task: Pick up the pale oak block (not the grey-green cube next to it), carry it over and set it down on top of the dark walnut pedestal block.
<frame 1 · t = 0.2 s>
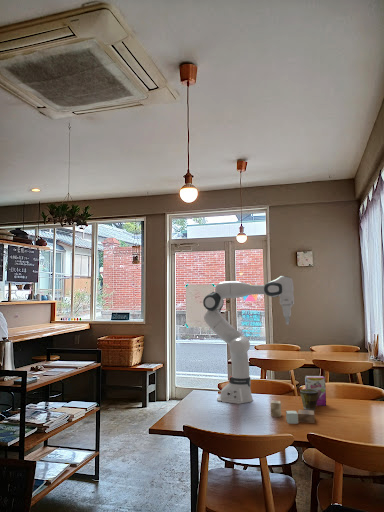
hand: (287, 324, 238), 47 cm above the table, fingers open, 8 cm apart
grey green block: (292, 422, 197), on the table
walnut pedestal: (306, 420, 199), on the table
candy bar box: (316, 405, 228), on the table
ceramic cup: (309, 409, 219), on the table
oak block: (276, 415, 209), on the table
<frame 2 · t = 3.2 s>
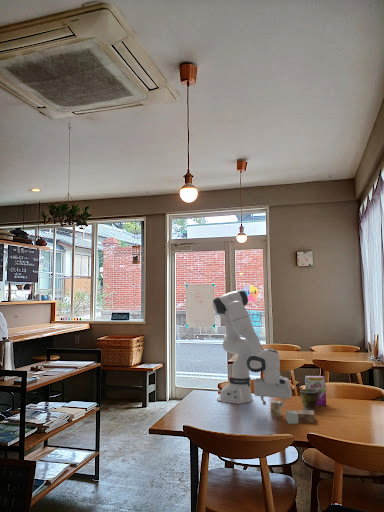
hand: (273, 405, 209), 5 cm above the table, fingers open, 8 cm apart
nothing on the table moved.
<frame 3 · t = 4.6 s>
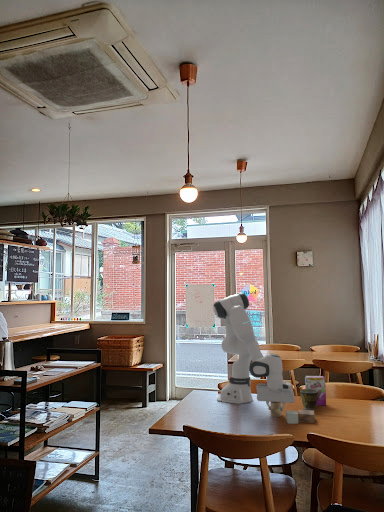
hand: (275, 410, 209), 3 cm above the table, fingers closed on oak block, 5 cm apart
oak block: (276, 415, 209), on the table, touching gripper
everything else where it was.
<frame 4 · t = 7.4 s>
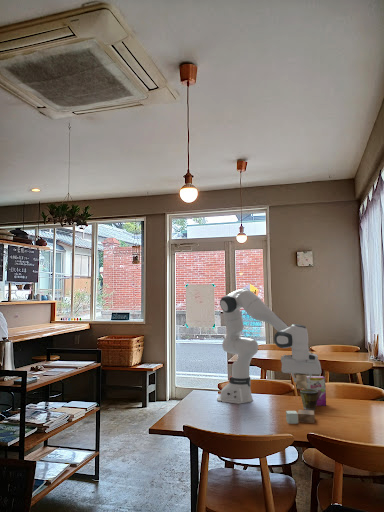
hand: (301, 382, 201), 19 cm above the table, fingers closed on oak block, 5 cm apart
oak block: (302, 387, 201), point 17 cm above the table, touching gripper
everything else where it was.
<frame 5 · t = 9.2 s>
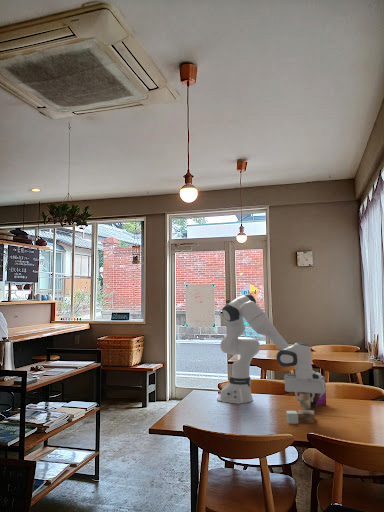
hand: (305, 401, 200), 10 cm above the table, fingers closed on oak block, 5 cm apart
oak block: (305, 406, 200), point 7 cm above the table, touching gripper
everything else where it was.
when the fingers open (8 cm above the table, at t = 10.5 s): oak block stays where it is, resting on walnut pedestal.
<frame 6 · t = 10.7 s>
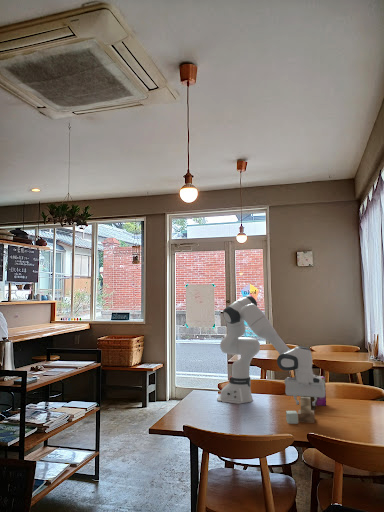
hand: (305, 405, 200), 8 cm above the table, fingers open, 7 cm apart
oak block: (306, 412, 200), point 4 cm above the table, touching walnut pedestal
everything else where it was.
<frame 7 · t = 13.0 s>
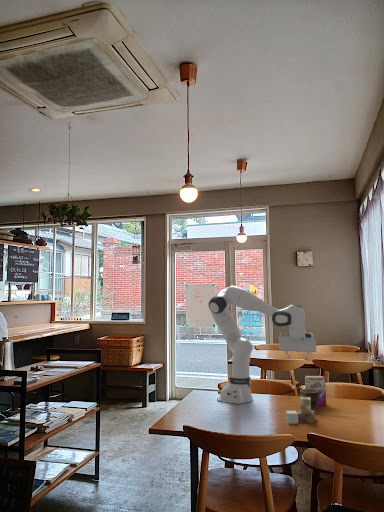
hand: (297, 359, 212), 30 cm above the table, fingers open, 8 cm apart
nothing on the table moved.
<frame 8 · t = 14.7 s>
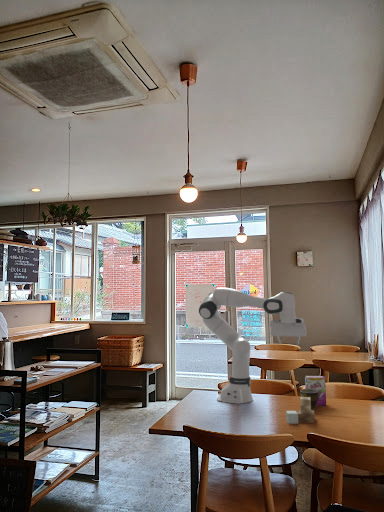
hand: (289, 344, 219), 37 cm above the table, fingers open, 8 cm apart
nothing on the table moved.
at the end: oak block inside the target area on the walnut pedestal (0.1 cm from its centre), point 4.0 cm above the walnut pedestal's base; oak block tilted 0°; grey green block moved 0.1 cm from its start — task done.
